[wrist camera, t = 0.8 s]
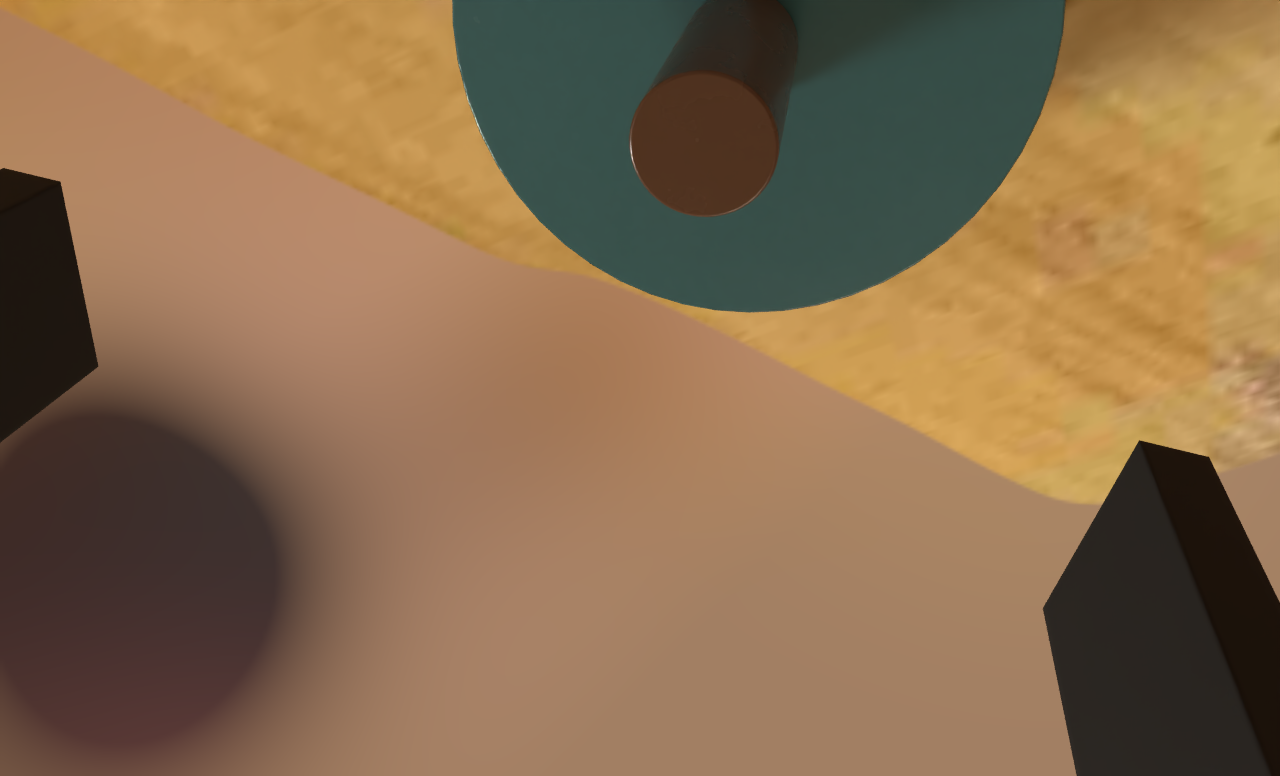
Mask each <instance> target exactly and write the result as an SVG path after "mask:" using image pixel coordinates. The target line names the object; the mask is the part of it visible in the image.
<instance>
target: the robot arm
mask: <svg viewBox="0 0 1280 776" xmlns="http://www.w3.org/2000/svg"><path fill="white" fill-rule="evenodd" d="M97 367H98V362H97V358H96V352H95V348H94V343H93V338H92V333H91V328H90V323H89V318H88V313H87V309H86V304H85V299H84V294H83V289H82V284H81V279H80V275H79V270H78V265H77V260H76V255H75V250H74V245H73V241H72V236H71V231H70V226H69V221H68V217H67V211H66V207H65V202H64V197H63V192H62V187H61V182H59V181H55V180H51V179H47V178H43V177H38V176H34V175H30V174H26V173H22V172H18V171H14V170H9V169H5V168H3V169H1V170H0V442H2V441H3V440H4V439H5V438H7V437H8V436H9V435H10V434H12V433H13V432H14V431H16V430H17V429H18V428H20V427H21V426H22V425H23V424H25V423H26V422H27V421H28V420H30V419H31V418H32V417H34V416H35V415H36V414H38V413H39V412H40V411H41V410H43V409H44V408H45V407H46V406H48V405H49V404H50V403H52V402H53V401H54V400H56V399H57V398H58V397H60V396H61V395H62V394H63V393H65V392H66V391H67V390H69V389H70V388H71V387H72V386H74V385H75V384H76V383H78V382H79V381H80V380H82V379H83V378H84V377H85V376H87V375H88V374H89V373H91V372H92V371H93V370H94V369H96V368H97ZM1043 611H1044V616H1045V621H1046V626H1047V630H1048V636H1049V641H1050V646H1051V651H1052V656H1053V661H1054V665H1055V670H1056V675H1057V680H1058V685H1059V690H1060V695H1061V700H1062V705H1063V710H1064V715H1065V720H1066V725H1067V730H1068V735H1069V739H1070V745H1071V750H1072V755H1073V759H1074V765H1075V769H1076V774H1077V776H1280V602H1279V600H1278V598H1277V596H1276V594H1275V592H1274V590H1273V588H1272V586H1271V584H1270V582H1269V580H1268V578H1267V575H1266V573H1265V572H1264V569H1263V567H1262V565H1261V563H1260V561H1259V559H1258V557H1257V555H1256V553H1255V551H1254V549H1253V547H1252V545H1251V543H1250V541H1249V539H1248V537H1247V535H1246V532H1245V530H1244V528H1243V526H1242V524H1241V522H1240V520H1239V518H1238V516H1237V514H1236V512H1235V510H1234V508H1233V506H1232V503H1231V501H1230V500H1229V497H1228V495H1227V493H1226V491H1225V489H1224V487H1223V485H1222V483H1221V481H1220V479H1219V477H1218V475H1217V473H1216V471H1215V469H1214V466H1213V464H1212V462H1211V460H1210V458H1209V457H1206V456H1202V455H1198V454H1194V453H1190V452H1185V451H1181V450H1177V449H1173V448H1169V447H1165V446H1160V445H1156V444H1152V443H1148V442H1144V441H1140V440H1139V442H1138V444H1137V445H1136V447H1135V449H1134V451H1133V452H1132V454H1131V456H1130V458H1129V459H1128V461H1127V463H1126V464H1125V466H1124V468H1123V470H1122V471H1121V473H1120V475H1119V477H1118V478H1117V480H1116V482H1115V484H1114V485H1113V487H1112V489H1111V491H1110V492H1109V494H1108V496H1107V498H1106V499H1105V501H1104V503H1103V505H1102V506H1101V508H1100V510H1099V511H1098V513H1097V515H1096V517H1095V519H1094V520H1093V522H1092V524H1091V526H1090V527H1089V529H1088V531H1087V533H1086V534H1085V536H1084V538H1083V539H1082V541H1081V543H1080V545H1079V546H1078V549H1077V550H1076V552H1075V553H1074V555H1073V557H1072V559H1071V560H1070V562H1069V564H1068V566H1067V567H1066V569H1065V571H1064V573H1063V574H1062V576H1061V578H1060V579H1059V581H1058V583H1057V585H1056V586H1055V588H1054V590H1053V592H1052V593H1051V595H1050V597H1049V599H1048V600H1047V602H1046V604H1045V606H1044V607H1043Z"/></svg>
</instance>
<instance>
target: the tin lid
mask: <svg viewBox="0 0 1280 776" xmlns="http://www.w3.org/2000/svg"><path fill="white" fill-rule="evenodd" d="M452 2H453V28H454V36H455V44H456V51H457V59H458V64H459V68H460V72H461V76H462V80H463V84H464V88H465V92H466V96H467V99H468V102H469V104H470V107H471V110H472V112H473V115H474V118H475V120H476V123H477V125H478V128H479V131H480V133H481V135H482V137H483V139H484V141H485V143H486V145H487V147H488V149H489V151H490V152H491V154H492V156H493V158H494V160H495V162H496V164H497V166H498V167H499V169H500V170H501V172H502V173H503V175H504V176H505V178H506V179H507V181H508V182H509V184H510V185H511V187H512V188H513V190H514V191H515V192H516V194H517V195H518V196H519V198H520V199H521V200H522V201H523V202H524V203H525V205H526V206H527V207H528V208H529V209H530V210H531V212H532V213H533V214H534V215H535V216H536V217H537V219H538V220H539V221H540V222H541V223H542V224H543V225H544V226H545V227H546V228H548V229H549V230H550V231H551V232H552V233H553V234H554V235H555V236H556V237H557V238H558V239H559V240H560V241H562V242H563V243H564V244H565V245H566V246H567V247H569V248H570V249H572V250H573V251H574V252H576V253H577V254H578V255H580V256H581V257H582V258H584V259H585V260H586V261H588V262H589V263H590V264H592V265H594V266H595V267H597V268H599V269H600V270H602V271H604V272H606V273H607V274H609V275H611V276H613V277H614V278H616V279H618V280H620V281H621V282H624V283H626V284H628V285H631V286H633V287H635V288H638V289H640V290H642V291H645V292H647V293H649V294H651V295H655V296H658V297H661V298H665V299H668V300H671V301H674V302H678V303H681V304H685V305H690V306H696V307H701V308H707V309H712V310H721V311H736V312H769V311H785V310H792V309H798V308H804V307H810V306H816V305H820V304H823V303H827V302H830V301H834V300H837V299H841V298H844V297H848V296H851V295H854V294H856V293H859V292H861V291H863V290H866V289H868V288H871V287H873V286H875V285H878V284H880V283H883V282H885V281H886V280H888V279H890V278H892V277H894V276H895V275H897V274H899V273H901V272H903V271H904V270H906V269H908V268H910V267H911V266H913V265H915V264H916V263H918V262H919V261H921V260H922V259H923V258H925V257H926V256H928V255H929V254H930V253H932V252H933V251H934V250H936V249H937V248H939V247H940V246H941V245H943V244H944V243H945V242H947V241H948V240H949V239H950V238H951V237H952V236H953V235H954V234H955V233H956V232H957V231H959V230H960V229H961V228H962V227H963V226H964V225H965V224H966V223H967V222H968V221H969V220H970V219H971V218H973V217H974V216H975V214H976V213H977V212H978V211H979V210H980V209H981V207H982V206H983V205H984V204H985V203H986V202H987V200H988V199H989V198H990V197H991V196H992V194H993V193H994V192H995V191H996V190H997V189H998V187H999V186H1000V185H1001V183H1002V182H1003V180H1004V179H1005V177H1006V176H1007V174H1008V173H1009V171H1010V170H1011V168H1012V167H1013V165H1014V164H1015V162H1016V161H1017V159H1018V157H1019V156H1020V154H1021V153H1022V151H1023V149H1024V147H1025V145H1026V143H1027V141H1028V139H1029V137H1030V135H1031V133H1032V131H1033V129H1034V127H1035V125H1036V123H1037V121H1038V119H1039V117H1040V115H1041V112H1042V109H1043V106H1044V103H1045V100H1046V97H1047V95H1048V92H1049V89H1050V86H1051V83H1052V80H1053V77H1054V74H1055V69H1056V65H1057V60H1058V55H1059V50H1060V46H1061V41H1062V36H1063V29H1064V16H1065V3H1066V0H452Z"/></svg>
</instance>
